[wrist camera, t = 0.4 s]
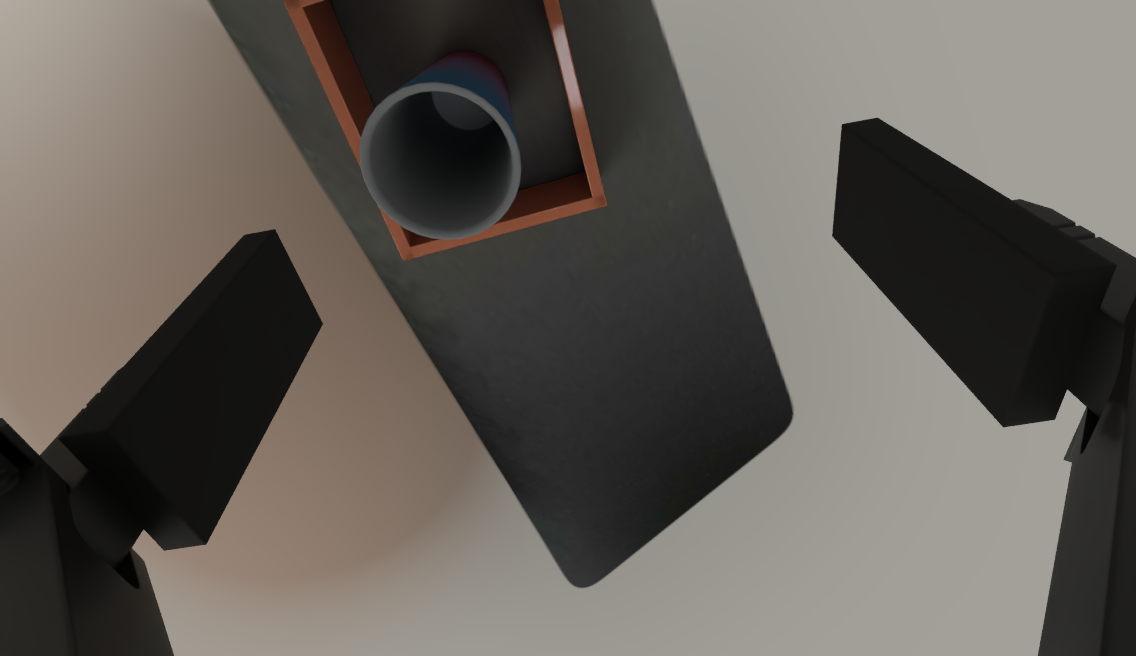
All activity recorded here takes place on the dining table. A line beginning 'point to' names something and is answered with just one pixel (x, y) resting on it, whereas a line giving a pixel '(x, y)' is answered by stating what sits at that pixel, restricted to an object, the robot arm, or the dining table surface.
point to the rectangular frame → (355, 107)
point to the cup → (444, 149)
